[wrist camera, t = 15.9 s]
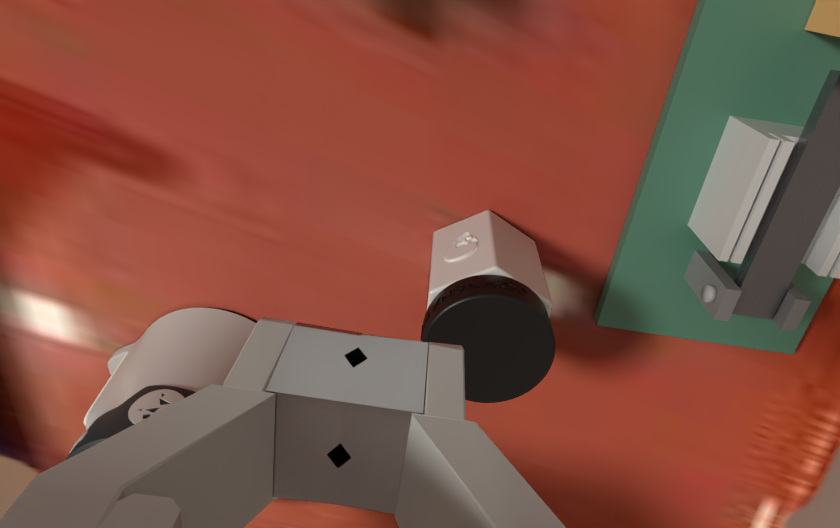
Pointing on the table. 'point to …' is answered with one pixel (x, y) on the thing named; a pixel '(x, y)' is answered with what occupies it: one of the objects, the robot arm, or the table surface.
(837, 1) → the tan wooden block
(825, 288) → the board
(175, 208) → the table surface
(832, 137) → the dark grey flat bar
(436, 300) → the jar
